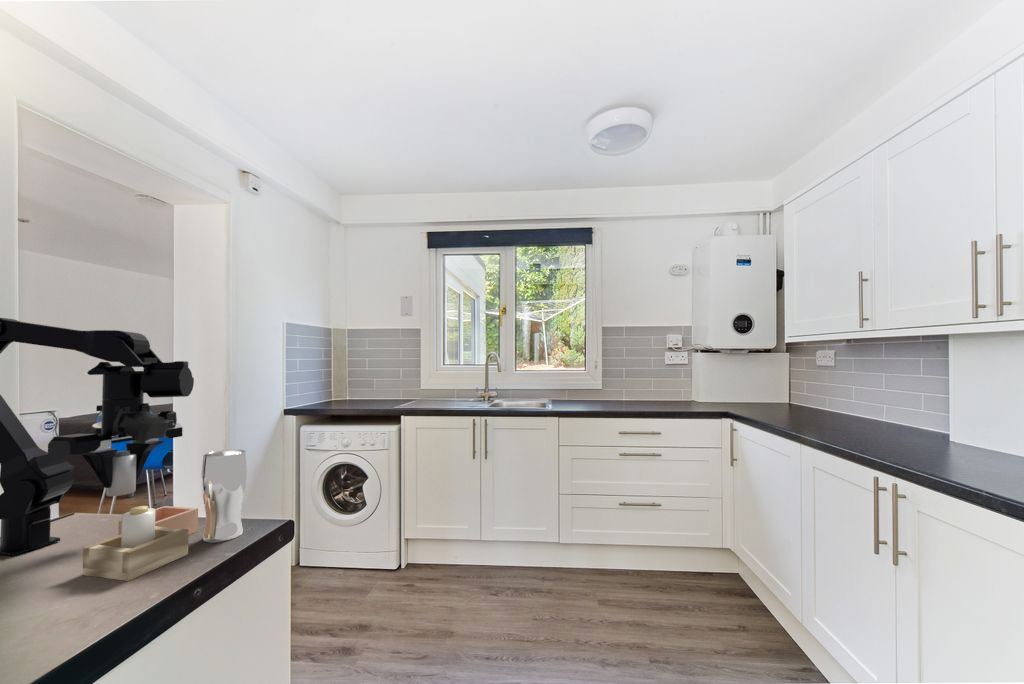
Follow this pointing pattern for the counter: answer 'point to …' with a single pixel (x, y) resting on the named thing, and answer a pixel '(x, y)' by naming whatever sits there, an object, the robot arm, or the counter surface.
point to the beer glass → (223, 493)
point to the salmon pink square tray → (174, 518)
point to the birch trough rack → (134, 555)
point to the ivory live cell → (138, 527)
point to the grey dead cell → (123, 474)
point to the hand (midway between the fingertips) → (121, 484)
